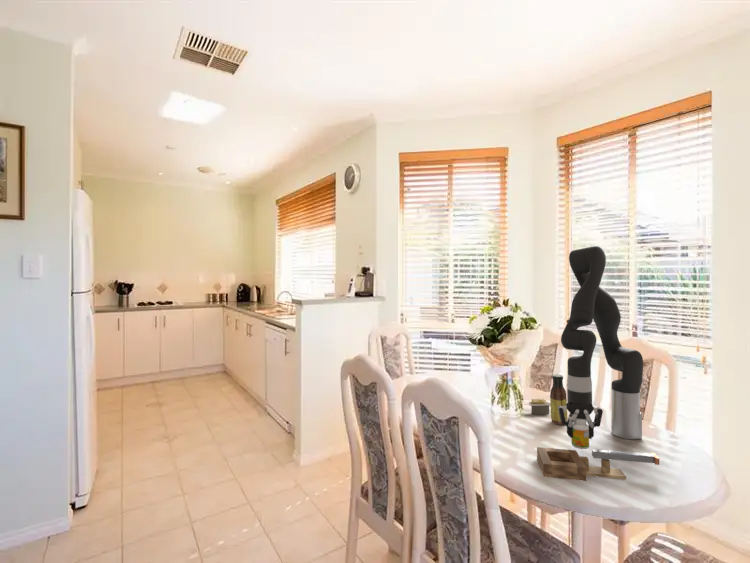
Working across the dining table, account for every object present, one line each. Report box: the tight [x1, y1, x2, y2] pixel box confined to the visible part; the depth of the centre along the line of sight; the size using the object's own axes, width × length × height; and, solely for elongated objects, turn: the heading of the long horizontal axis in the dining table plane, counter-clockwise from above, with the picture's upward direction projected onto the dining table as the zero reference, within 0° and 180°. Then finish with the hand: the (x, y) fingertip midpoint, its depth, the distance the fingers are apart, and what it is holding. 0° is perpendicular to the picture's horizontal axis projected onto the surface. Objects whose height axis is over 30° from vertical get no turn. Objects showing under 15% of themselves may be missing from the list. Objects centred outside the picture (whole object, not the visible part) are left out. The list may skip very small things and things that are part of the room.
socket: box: [536, 446, 587, 482], centre depth 127 cm, size 12×12×4 cm
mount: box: [579, 455, 627, 480], centre depth 124 cm, size 12×5×4 cm, turn 77°
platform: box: [528, 398, 551, 415], centre depth 177 cm, size 12×18×7 cm, turn 92°
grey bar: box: [591, 448, 660, 466], centre depth 122 cm, size 18×4×2 cm, turn 77°
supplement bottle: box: [570, 418, 590, 450], centre depth 136 cm, size 5×5×10 cm
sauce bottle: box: [549, 373, 568, 426], centre depth 165 cm, size 7×6×20 cm
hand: (580, 437), depth 136 cm, fingers closed on supplement bottle, 5 cm apart
